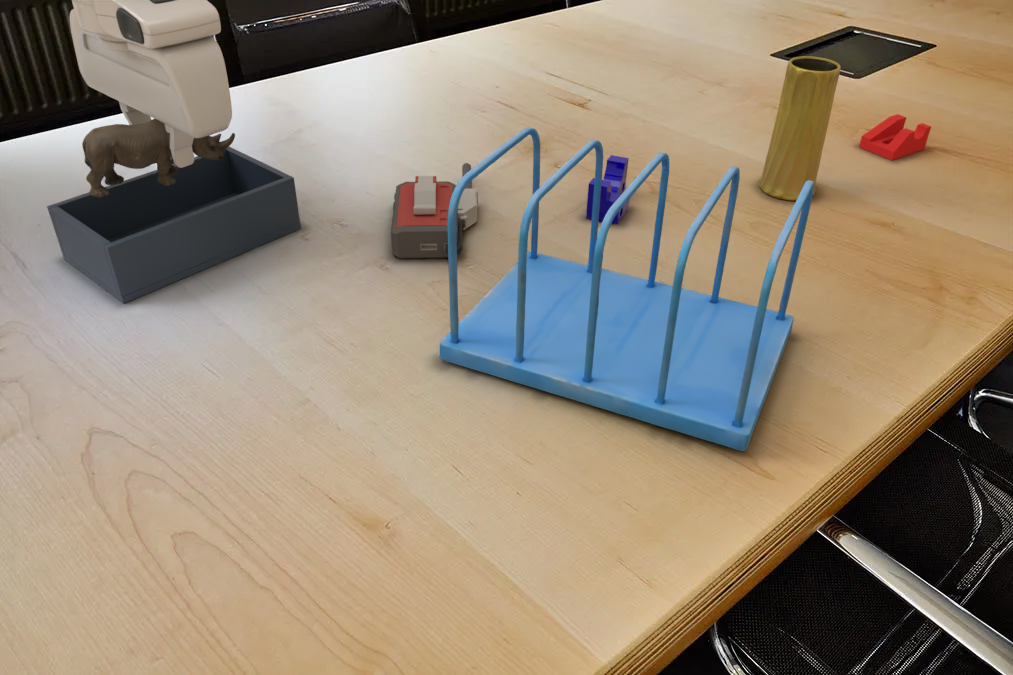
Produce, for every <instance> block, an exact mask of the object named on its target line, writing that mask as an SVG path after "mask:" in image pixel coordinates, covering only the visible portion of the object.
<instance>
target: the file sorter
mask: <svg viewBox="0 0 1013 675" xmlns="http://www.w3.org/2000/svg"><path fill="white" fill-rule="evenodd" d="M529 136H530V137H531V139H532V143H533V144H532V148H533V149H532V152H533V154H532V155H533V156H532V163H533V164H532V195H531V197H530V199H529V201H528V202H527V205H526V207H525V209H524V212H523V214H522V218H521V222H520V228H519V234H518V235H519V236H518V250H517V252H518V253H517V254H518V255H517V262H516V263H515V264H514V265H513V266H512V267H511V268H510V269H509V271H507V272H506V273H505V274H504V275H503V276H502V277H501V279H500V280H499V281H497V283H496V284H495V285H494V286H493V287H492V288H490V290H489V291H488V292H487V293H486V294H485V295H484V296H483V297H482V298H481V299H480V300H479V301H478V303H476V304H475V305H474V307H472V309H470V310H469V312H468V313H467V314H465V316H464V317H463V318H461V319H460V318H459V289H458V286H459V283H458V255H457V238H456V218H457V209H458V205H459V201H460V197H461V195H462V193H463V191H464V189H465V187H466V186H467V185H468V184H469V182H470V181H472V182H473V180H474V179H476V178H477V177H478V176H479V175H480V174H482V173H483V172H485V171H486V170H487V169H488V168H489V167H491V165H493V164H494V163H496V161H498V160H499V159H501V157H503V156H504V155H505V154H507V152H509V151H511V149H513V148H514V147H515V146H516V145H517V144H520V143H521V142H522V141H523V140H524V139H526V138H527V137H529ZM602 144H603V143H602V142H601V141H600V140H597V139H591V140H589V141H588V142H587V143H585V144H584V145H583V146H582V147H581V148H580V149H579V150H578V151H577V152H576V153H575V154H574V155H573V156H571V157H570V158H569V159H568V160H567V161H566V162H565V163H564V164H563V165H562V166H561V167H560V168H558V169H557V171H555V172H554V173H553V174H552V175H551V176H550V177H549V178H548V179H547V180H546V181H545V182H544V183H543V184H541V183H540V182H541V139H540V135H539V132H538V131H537V129H535V128H534V127H531V126H530V127H529V126H528V127H525V128H523V129H521V130H520V131H519V132H517V133H516V134H514V135H513V136H512V137H511V138H509V139H508V140H507V141H505V142H504V143H502V145H500V146H499V147H498V148H496V149H495V150H493V151H492V152H490V154H488V155H487V156H486V157H485V158H483V159H482V160H481V161H480V162H478V163H477V164H476V165H475V166H473V167H471V170H470V171H469V172H467V173H466V174H465V175H464V176H463V177H461V178H460V179H459V180H458V182H457V184H455V185H456V187H455V189H454V192H453V194H452V197H451V200H450V204H449V210H448V258H447V260H448V292H449V293H448V294H449V327H450V330H449V333H448V334H447V335H445V337H443V339H442V340H441V341H440V342H439V359H440V360H441V361H445V362H448V363H452V364H455V365H458V366H461V367H465V368H467V369H471V370H474V371H477V372H480V373H484V374H487V375H491V376H494V377H498V378H501V379H504V380H506V381H511V382H514V383H517V384H520V385H524V386H527V387H531V388H534V389H537V390H540V391H543V392H547V393H550V394H553V395H557V396H560V397H562V398H567V399H570V400H573V401H576V402H580V403H583V404H586V405H589V406H593V407H596V408H600V409H602V410H606V411H609V412H613V413H616V414H619V415H622V416H625V417H629V418H631V419H636V420H639V421H642V422H644V423H649V424H651V425H654V426H658V427H662V428H664V429H668V430H672V431H675V432H678V433H681V434H684V435H688V436H691V437H694V438H698V439H701V440H704V441H708V442H711V443H714V444H717V445H721V446H725V447H728V448H731V449H734V450H736V451H740V452H745V451H747V450H748V448H749V445H750V442H751V439H752V436H753V433H754V431H755V428H756V426H757V423H758V420H759V417H760V415H761V412H762V410H763V407H764V404H765V403H766V399H767V396H768V394H769V391H770V389H771V386H772V384H773V380H774V378H775V375H776V372H777V370H778V367H779V364H780V362H781V359H782V356H783V354H784V351H785V348H786V346H787V343H788V341H789V338H790V336H791V334H792V330H793V326H794V320H795V317H794V316H793V315H792V314H789V313H786V312H787V310H788V309H787V308H788V305H789V301H790V296H791V292H792V288H793V283H794V280H795V279H794V278H795V275H796V270H797V265H798V261H799V257H800V253H801V249H802V243H803V241H804V240H803V239H804V236H805V231H806V227H807V222H808V219H809V214H810V210H811V204H812V201H813V196H814V195H813V190H814V182H813V181H809V180H808V181H806V182H805V184H804V186H803V188H802V190H801V192H800V194H799V196H798V198H797V200H796V201H795V202H794V205H793V207H792V209H791V211H790V213H789V214H788V217H787V219H786V221H785V223H784V225H783V227H782V229H781V231H780V234H779V236H778V237H777V240H776V242H775V244H774V247H773V250H772V252H771V255H770V257H769V261H768V264H767V266H766V270H765V274H764V277H763V281H762V285H761V290H760V293H759V299H758V303H757V305H753V304H748V303H743V302H740V301H736V300H732V299H728V298H722V297H719V296H720V291H721V286H722V281H723V280H722V279H723V274H724V271H725V270H724V269H725V264H726V260H727V252H728V248H729V242H730V236H731V231H732V227H733V219H734V214H735V210H736V208H735V207H736V204H737V197H738V193H739V185H740V179H741V178H740V174H741V170H740V167H739V166H735V165H732V166H730V167H729V168H728V170H726V172H725V173H724V175H723V177H722V178H721V180H720V181H719V183H718V184H717V185H716V187H715V188H714V190H713V191H712V193H711V194H710V196H709V197H708V199H707V200H706V202H705V203H704V205H703V206H702V207H701V210H699V212H698V214H697V215H696V217H695V219H694V220H693V221H692V222H691V223H692V224H690V227H689V229H688V230H687V232H686V234H685V237H684V239H683V242H682V245H681V248H680V251H679V254H678V257H677V262H676V266H675V271H674V277H673V281H672V282H673V283H672V284H667V283H663V282H660V281H656V277H657V268H658V260H659V254H660V247H661V238H662V232H663V224H664V217H665V209H666V202H667V192H668V186H669V185H668V184H669V179H670V178H669V176H670V157H669V155H668V153H666V152H662V151H660V152H658V153H657V154H656V155H655V156H654V157H653V158H652V159H651V160H650V161H649V162H648V163H647V165H646V166H645V167H644V168H643V169H642V170H641V172H639V174H638V175H636V177H635V178H634V180H632V182H631V183H630V184H629V185H628V187H626V188H625V191H624V192H623V193H622V194H621V196H620V197H619V198H618V199H617V200H616V201H615V203H614V204H613V205H612V206H611V207H610V209H609V210H608V212H607V214H606V215H605V217H604V220H603V222H602V221H601V225H600V227H599V221H598V220H599V208H600V196H601V183H602V180H603V169H604V148H603V145H602ZM592 150H594V151H595V170H594V178H595V183H594V195H593V208H592V219H591V223H590V224H591V225H590V237H589V249H588V250H589V251H588V262H587V264H584V263H580V262H576V261H572V260H568V259H563V258H560V257H556V256H551V255H548V254H547V255H546V254H543V253H539V252H538V245H539V244H538V242H539V217H540V202H541V200H542V199H543V198H544V197H545V196H546V195H547V194H548V193H549V192H550V191H551V190H552V189H553V188H554V187H555V186H556V185H557V184H558V183H559V182H560V181H561V180H562V179H563V178H564V177H565V176H566V175H567V174H568V173H569V172H570V171H571V170H572V169H574V168H575V167H576V165H578V164H579V163H580V162H581V161H582V160H583V159H584V158H585V157H586V156H587V155H588V154H589V153H591V151H592ZM660 164H661V173H660V181H659V190H658V201H657V208H656V215H655V222H654V231H653V239H652V247H651V254H650V256H651V257H650V265H649V271H648V279H647V278H642V277H639V276H635V275H631V274H628V273H627V274H626V273H623V272H622V273H621V272H618V271H614V270H610V269H606V268H603V260H604V250H605V245H606V240H607V236H608V234H609V230H610V228H611V225H612V221H613V219H614V217H615V216H616V215H617V213H618V212H619V211H620V210H621V208H622V207H623V206H624V205H625V204H626V203H627V201H628V200H629V201H630V199H631V198H632V197H633V195H634V194H635V193H636V191H637V190H638V189H639V188H640V187H641V186H642V185H643V184H644V183H645V181H646V180H647V179H648V178H649V177H650V176H651V174H652V173H653V172H654V171H655V170H656V168H657V167H658V166H659V165H660ZM729 184H730V189H729V195H728V200H727V208H726V212H725V216H724V223H723V227H722V232H721V233H722V234H721V239H720V246H719V252H718V257H717V262H716V268H715V273H714V278H713V279H714V280H713V284H712V292H711V294H708V293H704V292H700V291H696V290H691V289H687V288H684V287H683V280H684V276H685V271H686V266H687V262H688V258H689V255H690V251H691V248H692V245H693V244H694V243H693V242H694V241H695V239H696V237H697V235H698V233H699V231H700V229H701V228H702V226H703V225H704V223H705V222H706V220H707V218H708V217H709V215H710V214H711V212H712V210H713V209H714V208H715V206H716V205H717V203H718V201H719V200H720V198H721V197H722V195H723V194H724V192H725V191H726V189H727V187H728V186H729ZM540 185H541V186H540ZM798 218H799V219H798ZM797 220H798V224H797V228H796V232H795V237H794V241H793V246H792V250H791V255H790V258H789V263H788V267H787V271H786V272H787V273H786V277H785V280H784V285H783V290H782V295H781V299H780V302H779V307H778V308H779V309H778V311H777V310H773V309H768V303H769V299H770V294H771V291H772V285H773V282H774V279H775V275H776V271H777V268H778V265H779V262H780V259H781V256H782V255H783V254H782V253H783V251H784V249H785V246H786V244H787V242H788V240H789V238H790V236H791V234H792V231H793V229H794V227H795V224H796V223H797ZM530 226H531V232H529V230H530ZM598 230H599V231H598ZM529 233H530V234H531V235H530V236H531V237H530V251H528V247H529V246H528V244H529V243H528V240H529ZM459 319H460V321H459Z"/></svg>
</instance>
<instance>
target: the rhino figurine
mask: <svg viewBox="0 0 1013 675" xmlns="http://www.w3.org/2000/svg"><path fill="white" fill-rule="evenodd" d="M235 137H236V133H235V132H232V133H231V135H230V136H229V137H228V138H226V139H224V140H222V141H221V138H222V133H218V134H216V135H213V136H212V135H209V136H205V137H202V138H194V139H193V144H192V150H193V154H194V155H196V157H197V156H199V157H202V158H207V159H210V160H219V161H220V160H221V159H222V158H223V153H224V151H225V150H226V149H227V148H228V147H231V145H232V144H233V142H234V140H235ZM81 144H82V146H81V147H82V150H83V154H84V163H85V165H86V166H87V167H88V168H89V169H90V170H89V173H88V174H87V175H86V177H85V179H86V181H87V183H89V185H90V190H89V192H90V194H91V195H92V196H94V197H103V196H106V195H109V194H110V193H109V191H108V190H107V189H106V188H105V187H106V186H103V185H102V181H103V180H104V184H105V185H107V186H109V185H116V184H121V183H123V181H124V180H125V178H124V176H122V175H119V174H118V173H117V172H116V171H115V164H116V165H119V166H122V167H124V168H128V169H134V170H142V169H146V168H149V167H150V166H152V165H155V164H156V170H157V171H158V174H159V175H158V178H157V181H158V182H159V183H161V184H163V185H165V186H169V185H171V184H174V183H175V182H176V181H175V179H174V178H172V177H171V176H170V175H175V174H178V168H176V167H175V166H173V164H172V163H170V162H169V160H168V154H167V152H166V147H165V146H168V145H170V133H168V132H167V131H166V128H165V124H164V123H163V122H161V121H159V120H156V119H154V118H153V119H151V121H148V122H146V123H142V124H136V125H129V124H123V123H115V124H108V125H103V126H98V127H94V128H92V130H90V131H89V132H88V133H87V134H86V135H85V136H84V138H83V140H82V143H81Z"/></svg>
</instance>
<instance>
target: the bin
mask: <svg viewBox="0 0 1013 675" xmlns="http://www.w3.org/2000/svg"><path fill="white" fill-rule="evenodd" d="M173 166H175V167H176V168H178V174H175V175H170V176H171V177H172V178H174V179H175V181H176V182H175V183H174V184H171V185H169V186H165V185H163V184H161V183H159V182H158V181H157V178H158V175H159V174H158V171H157V169H155V170H152V171H149V172H146V173H142V174H140V175H137V176H134V177H131V178H128V179H124V181H123V183H121V184H116V185H107V186H104V187H105V188H106V189H107V190H108V191H109V193H110V194H109V195H106V196H103V197H94V196H92V195H91V194H90V191H89V192H85V193H82V194H80V195H76V196H73V197H70V198H68V199H64V200H60V201H59V202H55V203H52V204H49V205H47V206H46V208H47V211H48V212H47V213H48V214H49V217H50V220H51V223H52V227H53V229H54V233H55V236H56V239H57V242H58V245H59V248H60V251H61V253H62V258H63V260H64V261H66V262H67V263H68V264H70V265H71V266H73V267H74V268H75V269H77V270H78V271H79V272H80V273H82V274H83V275H84V276H85V277H87V278H89V279H90V280H91V281H92V282H94V283H96V284H97V285H98V286H99V287H101V288H102V289H104V290H105V291H106V292H108V293H109V294H110V295H111V296H113V297H114V298H116V299H117V300H118V301H120V302H121V303H123V304H127V303H129V302H132V301H133V300H135V299H138V298H141V297H143V296H145V295H148V294H149V293H152V292H155V291H157V290H159V289H162V288H164V287H166V286H169V285H171V284H173V283H176V282H178V281H181V280H183V279H185V278H188V277H190V276H192V275H195V274H197V273H199V272H203V271H204V270H206V269H209V268H211V267H213V266H216V265H218V264H220V263H223V262H225V261H228V260H231V259H232V258H234V257H237V256H240V255H241V254H244V253H246V252H249V251H251V250H254V249H256V248H259V247H261V246H263V245H265V244H267V243H270V242H272V241H275V240H277V239H279V238H282V237H285V236H287V235H288V234H291V233H293V232H296V231H298V230H300V229H301V228H302V225H301V218H300V211H299V210H300V209H299V203H298V198H297V190H296V183H295V177H294V176H292V175H290V174H287V173H286V172H283V171H282V170H279V169H278V168H275V167H273V166H271V165H269V164H267V163H264V162H263V161H260V160H259V159H256V158H254V157H252V156H251V155H248V154H246V153H244V152H241V151H239V150H238V149H236V148H234V147H232V146H229V147H228V148H227V149H226V150H225V151H224V153H223V158H222V159H221V160H220V161H219V160H210V159H207V158H202V157H199V156H197V155H196V156H194V162H193V164H191V165H189V166H186V167H183V168H180V167H177V166H176V165H174V164H173Z"/></svg>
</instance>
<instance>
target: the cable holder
mask: <svg viewBox="0 0 1013 675" xmlns="http://www.w3.org/2000/svg"><path fill="white" fill-rule="evenodd" d="M628 167H629V157H624V156H618V155H613V154H610V155H609V156H608V158H607V159H606V164H605V172H604V175H603V178H602V183H601V196H600V208H599V220H598V222H601V223H602V222H603V220H604V217H605V215H606V214H607V212H608V210H609V209H610V207H611V206H612V205H613V204H614V203H615V201H616V200H617V199H618V198H619V197H620V196H621V194H622V193H623V192H624V191H625V190H626V188H627V187H626V186H627V176H628ZM594 183H595V177H592V179H591V180H590V181H589V183H588V186H587V199H586V200H587V201H586V211H585V212H586V213H585V219H587V220H592V208H593V195H594ZM629 206H630V199H629V200H628V201H627V203H626V204H625V205H624V206H623V207H622V208H621V210H620V211H619V212H618V213H617V215H616V216H615V217H614V219H613V221H612V223H611V225H612V224H613V225H617V226H618V225H619V224H620V222H621V221H622V219H623V218H624V216H625V215H626V213H627V211H628V210H629Z"/></svg>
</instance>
